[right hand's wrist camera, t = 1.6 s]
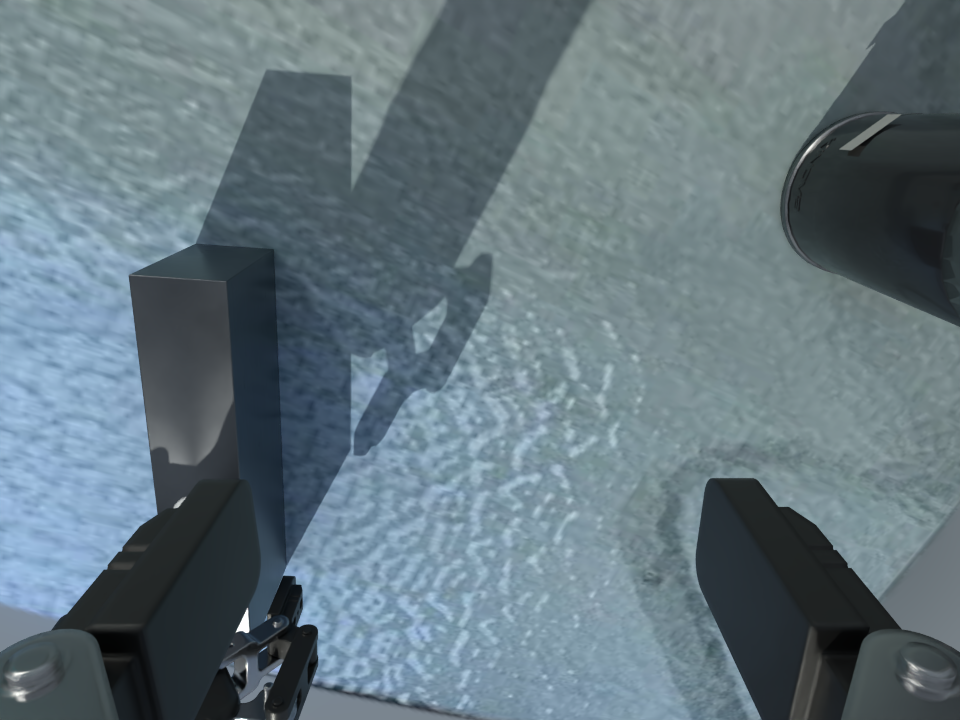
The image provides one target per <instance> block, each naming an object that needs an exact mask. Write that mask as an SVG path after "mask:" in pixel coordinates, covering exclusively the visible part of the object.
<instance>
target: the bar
mask: <svg viewBox="0 0 960 720" xmlns="http://www.w3.org/2000/svg"><path fill="white" fill-rule="evenodd" d="M129 282H130V290H131V298H132V306H133V315H134V323H135V331H136V339H137V347H138V356H139V364H140V372H141V380H142V389H143V397H144V405H145V413H146V422H147V430H148V438H149V446H150V455H151V463H152V471H153V479H154V488H155V496H156V504H157V512H158V514H159V513H161V512H162V511H164V510H165V509H167V508H178V507H179V506H180V505H181V503H182V502H183V501H184V499H185V498H186V497H187V496H188V494H189V493H190V492H191V490H192V489H193V488H194V486H195V485H196V484H197V483H198V482H199V481H200V480H203V479H245V480H247V481H248V482H249V484H250V487H251V490H252V496H253V503H254V510H255V517H256V524H257V531H258V538H259V545H260V552H261V570H260V577H259V582H258V585H257V588H256V591H255V593H254V595H253V598H252V600H251V602H250V604H249V606H248V608H247V610H246V612H245V614H244V617H243V619H242V621H241V623H240V625H239V627H238V629H237V631H236V632H238V631H244V632H245V633H248V632H249V631H251V630H253V629H254V628H256V627H257V626H259V625H260V624H262V623H264V621H265V618H266V616H267V613H268V611H269V608H270V606H271V603H272V601H273V598H274V596H275V593H276V591H277V589H278V586H279V584H280V581H281V579H282V576H283V574H284V571H285V569H286V545H285V520H284V495H283V471H282V446H281V421H280V397H279V372H278V347H277V322H276V298H275V273H274V250H273V249H261V248H246V247H231V246H217V245H202V244H194V245H192V246H190V247H188V248H186V249H184V250H181V251H179V252H177V253H175V254H173V255H171V256H169V257H166V258H164V259H162V260H160V261H158V262H156V263H154V264H152V265H149V266H147V267H145V268H143V269H141V270H139V271H137V272H134V273H132V274H130V275H129Z"/></svg>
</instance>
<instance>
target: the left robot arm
mask: <svg viewBox="0 0 960 720" xmlns="http://www.w3.org/2000/svg"><path fill="white" fill-rule="evenodd" d="M302 609H303V597H302V587H301V585H296V578H295V576H283V578H282V580H281V582H280V585H279V587H278V590H277V592H276V594H275V597H274V599H273V601H272V604H271V606H270V609H269V611H268V613H267V621H265V622H264V623H262V624H260V625H259V626H257V627H256V628H254V629H253V630H251V631H249V632H248V633H245V632H244V631H238V632H236V633H235V636H234V638H233V640H232V642H231V644H230V646H229V648H228V650H227V652H226V655H225V657H224V659H223V661H222V663H221V665H220V667H219V669H218V671H217V674H216V676H215V678H214V680H213V682H212V684H211V686H210V688H209V690H208V693H207V695H206V697H205V699H204V701H203V703H202V705H201V707H200V709H199V712H198V714H197V716H196V718H195V720H298V719H299V716H300V714H301V711H302V708H303V705H304V703H305V700H306V697H307V694H308V692H309V689H310V686H311V684H312V681H313V678H314V675H315V673H316V670H317V667H318V655H317V640H318V629H317V628H316V627H315V626H314V625H309V624H308V625H303V626H301V627H297V623H298V621H299V618H300V615H301V612H302ZM66 615H67V614H66ZM66 615H64V616H63V617H61V618H60V619H59V621H58V622H57V623H56V625H55V626H54V627H53V629H52V630H54V629H55V628H56V627H57V626H58V624H59V623H60V622H61V621H62V620H63V618H64V617H65V616H66ZM52 630H51V631H52ZM266 646H267V648H266V649H264V650H263V651H261V650H262V649H263V648H265V647H266ZM260 651H261V652H260ZM259 652H260V653H259ZM232 662H234V673H233V675H232V677H230V674H229V672H228V670H227V668H226V666H228V665H229V664H231V663H232ZM280 664H282V665H281V668H280V670H279V672H278V675H277V677H276V679H275V682H274V684H273V683H271V682H268V683H266V684H265V685H264V689H263V690H262V691H261V692H260V693H259V694H258V696H257V697H256V698H255V699H254V700H252V701H250V702H248V703H240V700H241V699H243V698H244V697H245V696H247V695H248V694H250V693H251V692H252V691H254V690H255V689H256V688H257V686H258V684H259V682H260V680H261V678H262V677H263V676H265V675H266V674H268V673H269V672H270V671H272V670H273V669H275V668H276V667H277V666H279V665H280Z"/></svg>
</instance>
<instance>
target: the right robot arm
mask: <svg viewBox="0 0 960 720" xmlns="http://www.w3.org/2000/svg"><path fill="white" fill-rule="evenodd" d="M781 220H782V225H783V229H784V232H785V235H786V237H787V239H788V241H789V243H790V245H791V246H792V248H793V249H794V250H795V251H796V253H797V254H798V255H799V256H800V257H801V258H803V259H804V260H805V261H807V262H808V263H810V264H812V265H813V266H816V267H818V268H820V269H822V270H825V271H828V272H831V273H836V274H839V275H841V276H843V277H846V278H847V279H850V280H852V281H854V282H856V283H859V284H861V285H863V286H866V287H868V288H870V289H873V290H875V291H877V292H880V293H882V294H885V295H887V296H889V297H892V298H894V299H896V300H899V301H901V302H903V303H906V304H908V305H910V306H913V307H915V308H917V309H920V310H922V311H924V312H927V313H929V314H931V315H934V316H936V317H938V318H941V319H943V320H945V321H948V322H950V323H952V324H955V325H957V326H959V327H960V114H922V113H916V114H898V113H893V112H867V113H861V114H856V115H853V116H849V117H846V118H844V119H842V120H839V121H837V122H836V123H834V124H832V125H830V126H829V127H827V128H826V129H824V130H823V131H821V132H820V133H819V134H818V135H816V136H815V137H814V138H813V139H812V140H811V141H810V142H809V143H808V144H807V145H806V146H805V147H804V149H803V150H802V151H801V152H800V154H799V155H798V157H797V158H796V160H795V161H794V163H793V165H792V167H791V169H790V171H789V173H788V175H787V178H786V181H785V183H784V187H783V191H782V197H781ZM260 570H261V552H260V545H259V538H258V531H257V524H256V517H255V510H254V503H253V496H252V490H251V487H250V484H249V482H248V481H247V480H245V479H203V480H200V481H199V482H198V483H197V484H196V485H195V486H194V488H193V489H192V490H191V492H190V493H189V494H188V496H187V497H186V498H185V499H184V501H183V502H182V503H181V505H180V506H179V507H178V508H167V509H165V510H164V511H162V512H161V513H159V514H158V515H156V516H155V517H153V518H152V519H150V520H149V521H147V522H146V523H144V524H143V525H141V526H140V527H139V528H138V529H137V531H136V532H135V533H134V534H133V535H132V537H131V538H130V539H129V540H128V541H127V543H126V544H125V545H124V546H123V550H122V552H118V554H117V555H116V556H115V557H114V558H113V560H112V561H111V562H110V563H109V564H108V569H107V570H103V572H102V573H101V574H100V575H99V576H98V578H97V579H96V580H95V581H94V582H93V584H92V585H91V586H90V587H89V588H88V590H87V591H86V592H85V593H84V594H83V596H82V597H81V598H80V599H79V600H78V602H77V603H76V604H75V605H74V606H73V608H72V609H71V610H70V611H69V612H68V614H67V615H66V616H65V617H64V618H63V620H62V621H61V622H60V623H59V624H58V626H57V627H56V628H55V629H54V630H52V631H48V632H44V633H40V634H37V635H34V636H31V637H28V638H26V639H24V640H21V641H19V642H17V643H15V644H13V645H11V646H9V647H8V648H6V649H5V650H3V651H1V652H0V720H195V718H196V716H197V714H198V712H199V709H200V707H201V705H202V703H203V701H204V699H205V697H206V695H207V693H208V690H209V688H210V686H211V684H212V682H213V680H214V678H215V676H216V674H217V671H218V669H219V667H220V665H221V663H222V661H223V659H224V657H225V655H226V652H227V650H228V648H229V646H230V644H231V642H232V640H233V638H234V636H235V633H236V631H237V629H238V627H239V625H240V623H241V621H242V619H243V617H244V614H245V612H246V610H247V608H248V606H249V604H250V602H251V600H252V598H253V595H254V593H255V591H256V588H257V585H258V582H259V577H260ZM696 571H697V577H698V582H699V585H700V588H701V591H702V593H703V595H704V597H705V599H706V601H707V603H708V606H709V608H710V610H711V612H712V614H713V616H714V618H715V621H716V623H717V625H718V627H719V629H720V631H721V633H722V636H723V638H724V640H725V642H726V644H727V646H728V648H729V650H730V653H731V655H732V657H733V659H734V661H735V663H736V665H737V668H738V670H739V672H740V674H741V676H742V678H743V680H744V682H745V685H746V687H747V689H748V691H749V693H750V695H751V697H752V700H753V702H754V704H755V706H756V708H757V710H758V712H759V715H760V717H761V719H762V720H960V652H959V651H957V650H955V649H954V648H952V647H951V646H949V645H947V644H945V643H943V642H941V641H939V640H936V639H934V638H932V637H929V636H926V635H923V634H920V633H916V632H912V631H908V630H902V629H901V628H900V627H899V626H898V624H897V623H896V622H895V621H894V619H893V618H892V617H891V616H890V615H889V613H888V612H887V611H886V610H885V608H884V607H883V606H882V605H881V604H880V602H879V601H878V600H877V599H876V598H875V596H874V595H873V594H872V593H871V591H870V590H869V589H868V588H867V587H866V585H865V584H864V583H863V582H862V581H861V579H860V578H859V577H858V576H857V574H856V573H855V572H854V571H853V570H852V568H848V566H847V562H846V561H845V560H844V559H843V557H842V556H841V555H840V554H839V553H838V551H837V550H833V545H832V544H831V543H830V542H829V540H828V539H827V538H826V537H825V536H824V534H823V533H822V532H821V531H820V530H819V528H818V527H817V526H816V525H815V524H814V523H812V522H811V521H809V520H808V519H806V518H805V517H803V516H802V515H800V514H799V513H797V512H796V511H794V510H793V509H791V508H790V507H778V506H777V505H776V503H775V502H774V501H773V499H772V498H771V497H770V496H769V494H768V493H767V492H766V490H765V489H764V488H763V486H762V485H761V484H760V483H759V481H758V480H756V479H754V478H711V479H709V481H708V482H707V484H706V487H705V492H704V499H703V506H702V513H701V520H700V527H699V534H698V541H697V549H696Z"/></svg>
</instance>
